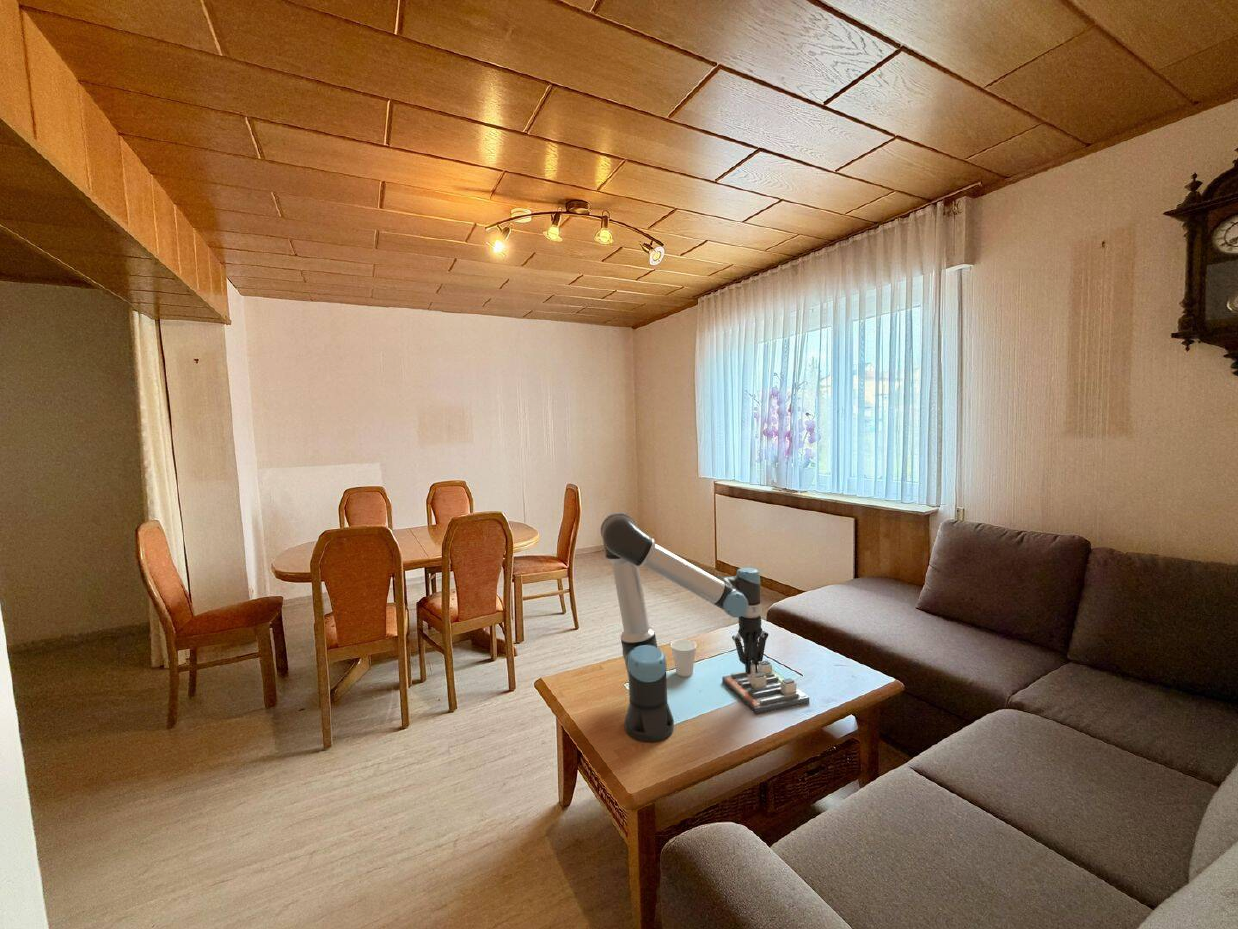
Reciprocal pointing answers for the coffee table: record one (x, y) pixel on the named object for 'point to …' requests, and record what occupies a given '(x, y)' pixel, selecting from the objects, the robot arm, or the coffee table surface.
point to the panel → (763, 693)
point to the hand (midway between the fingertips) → (751, 682)
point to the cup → (683, 656)
